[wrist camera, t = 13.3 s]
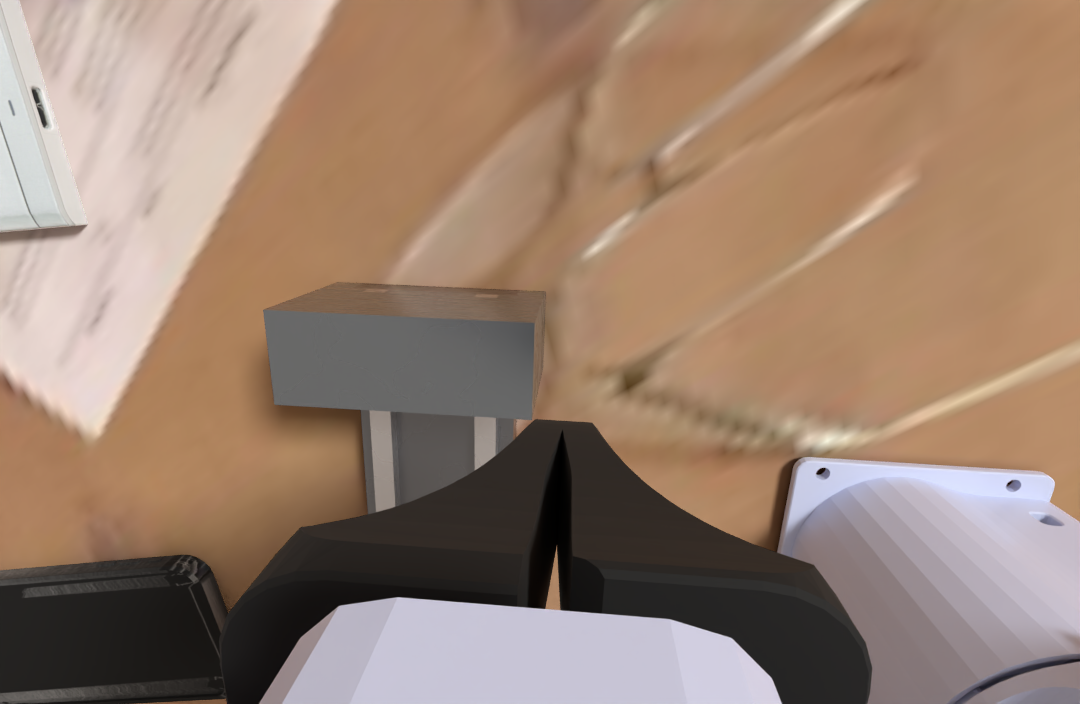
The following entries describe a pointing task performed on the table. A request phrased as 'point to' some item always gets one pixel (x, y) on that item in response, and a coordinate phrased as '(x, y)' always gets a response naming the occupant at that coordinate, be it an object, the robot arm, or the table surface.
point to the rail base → (413, 374)
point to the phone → (111, 632)
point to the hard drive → (30, 139)
